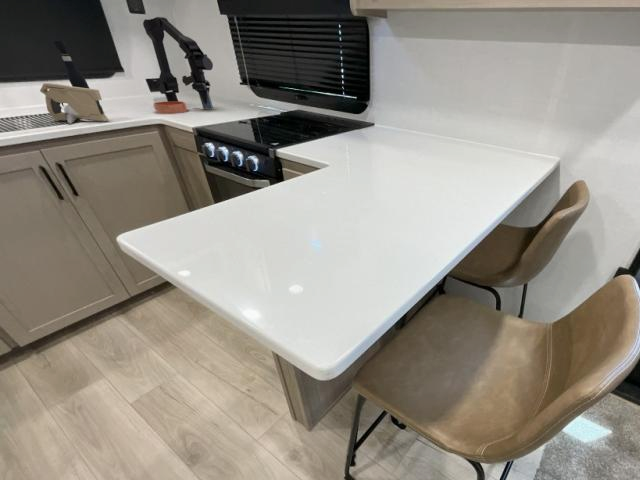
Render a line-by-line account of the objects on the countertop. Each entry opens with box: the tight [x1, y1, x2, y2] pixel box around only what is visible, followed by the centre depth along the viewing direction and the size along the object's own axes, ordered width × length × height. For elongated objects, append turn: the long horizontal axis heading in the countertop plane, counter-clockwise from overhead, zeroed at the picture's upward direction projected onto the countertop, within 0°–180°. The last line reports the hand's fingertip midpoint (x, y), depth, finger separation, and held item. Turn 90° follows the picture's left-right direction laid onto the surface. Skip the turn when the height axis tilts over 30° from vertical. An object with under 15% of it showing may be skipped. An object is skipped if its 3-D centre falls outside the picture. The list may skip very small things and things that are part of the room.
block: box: [197, 91, 214, 110], centre depth 185 cm, size 4×4×8 cm
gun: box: [39, 82, 110, 123], centre depth 151 cm, size 24×3×15 cm, turn 92°
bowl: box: [152, 100, 188, 115], centre depth 179 cm, size 15×15×4 cm
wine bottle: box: [52, 40, 91, 89], centre depth 163 cm, size 6×6×30 cm
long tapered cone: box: [63, 104, 79, 125], centre depth 155 cm, size 6×6×19 cm
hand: (206, 102), depth 186 cm, fingers closed on block, 4 cm apart
